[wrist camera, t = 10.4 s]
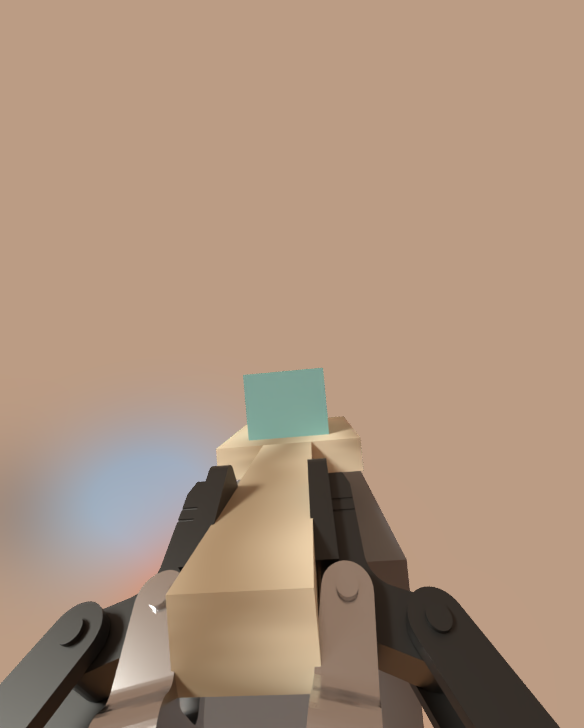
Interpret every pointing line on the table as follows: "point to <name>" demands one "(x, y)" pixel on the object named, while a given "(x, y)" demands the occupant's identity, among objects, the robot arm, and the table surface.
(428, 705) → the robot arm
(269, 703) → the stand
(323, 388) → the teal square box
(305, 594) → the tan block
